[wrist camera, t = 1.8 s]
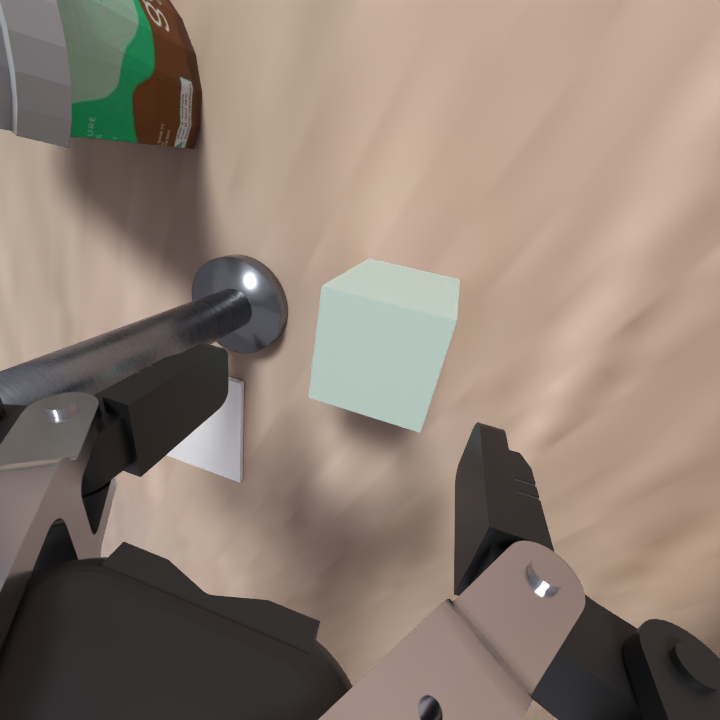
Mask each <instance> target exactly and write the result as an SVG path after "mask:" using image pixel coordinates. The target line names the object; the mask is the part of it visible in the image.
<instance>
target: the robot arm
mask: <svg viewBox="0 0 720 720" xmlns="http://www.w3.org/2000/svg"><path fill="white" fill-rule="evenodd" d="M228 389H229V388H228V353H227V351H226V350H225V349H223V348H220V347H216V346H213V345H209V344H206V343H199V344H197V345H196V346H194V347H192V348H190V349H188V350H186V351H185V352H183V353H179V354H175V355H172V356H168V357H165V358H163V359H161V360H159V361H157V362H155V363H153V364H151V366H150V367H149V366H148V367H146V368H144V369H142V370H140V371H139V373H134V374H132V375H131V376H129V377H127V378H125V379H123V380H121V381H119V382H117V383H115V384H114V385H112V386H110V387H108V388H106V389H104V390H102V391H100V392H98V393H97V394H95V395H91V394H88V393H83V392H67V393H60V394H55V395H51V396H48V397H45V398H42V399H40V400H38V401H36V402H34V403H32V404H31V405H29V406H23V405H10V404H3V402H2V400H1V397H0V720H522V719H523V717H524V716H525V714H526V712H527V710H528V708H529V707H530V705H531V702H532V700H534V701H536V702H537V703H538V704H539V705H541V706H542V707H543V708H544V709H546V710H547V711H548V712H549V713H551V714H552V715H553V716H554V717H556V718H557V719H558V720H720V659H719V658H718V657H717V656H716V655H715V654H714V653H713V652H712V651H711V650H710V649H709V648H708V647H707V646H706V645H705V644H703V643H702V642H701V641H700V640H698V639H697V638H696V637H694V636H693V635H692V634H690V633H689V632H687V631H686V630H684V629H682V628H680V627H679V626H677V625H674V624H672V623H670V622H667V621H664V620H658V619H650V620H648V621H646V622H644V623H643V624H642V625H641V626H640V627H639V628H638V629H637V628H635V627H634V626H632V625H631V624H629V623H627V622H626V621H624V620H623V619H621V618H619V617H618V616H616V615H615V614H613V613H612V612H610V611H608V610H607V609H605V608H604V607H602V606H600V605H599V604H597V603H596V602H594V601H593V600H591V599H590V598H589V597H588V596H586V595H585V593H584V590H583V587H582V584H581V582H580V580H579V579H578V577H577V575H576V574H575V572H574V571H573V570H572V568H571V567H570V566H569V565H568V564H567V563H566V562H565V561H564V560H563V559H562V558H561V557H560V556H559V555H557V554H556V553H555V552H554V549H553V546H552V542H551V538H550V535H549V531H548V527H547V524H546V520H545V517H544V513H543V509H542V506H541V502H540V500H539V495H538V491H537V488H536V487H535V480H534V477H533V473H532V469H531V468H530V466H529V465H528V463H527V462H526V461H525V459H524V458H523V457H522V455H521V454H520V453H518V452H514V451H511V450H509V448H508V443H507V438H506V433H505V431H504V430H502V429H499V428H495V427H492V426H488V425H485V424H481V423H476V424H475V426H474V428H473V430H472V433H471V435H470V438H469V440H468V443H467V445H466V447H465V450H464V452H463V455H462V457H461V460H460V462H459V465H458V469H457V473H456V479H455V553H454V594H455V595H458V597H457V598H456V599H455V600H454V601H451V600H450V599H447V600H445V601H444V602H442V603H441V604H440V605H439V606H438V607H436V608H435V609H434V610H433V611H432V612H431V613H430V614H429V615H428V616H427V617H426V618H425V619H424V620H423V621H422V622H421V623H420V624H418V625H417V626H416V627H415V628H414V629H413V630H412V631H411V632H410V633H409V634H408V635H407V636H406V637H405V638H404V639H403V640H402V641H401V642H399V643H398V644H397V645H396V646H395V647H394V648H393V649H392V650H391V651H390V652H389V653H388V654H387V655H386V656H385V657H384V658H383V659H382V660H380V661H379V662H378V663H377V664H376V665H375V666H374V667H373V668H372V669H371V670H370V671H369V672H368V673H367V674H366V675H365V676H364V677H363V678H362V679H360V680H359V681H358V682H357V683H356V684H355V685H354V686H352V685H351V683H350V681H349V679H348V677H347V675H346V674H345V672H344V671H343V669H342V668H341V666H340V665H339V663H338V662H337V661H336V660H335V658H334V657H333V656H332V655H331V654H330V653H329V652H328V651H327V649H326V648H325V647H323V646H322V645H321V644H320V643H319V642H318V641H317V640H316V637H317V633H318V628H319V623H320V621H318V620H315V619H313V618H310V617H308V616H305V615H303V614H300V613H298V612H296V611H293V610H291V609H288V608H286V607H283V606H281V605H278V604H276V603H273V602H271V601H268V600H259V599H248V598H237V597H226V596H215V595H209V594H207V593H205V592H204V591H202V590H201V589H200V588H199V587H198V586H197V585H196V584H195V583H194V582H192V581H191V580H190V579H189V578H188V577H187V576H186V575H185V574H184V573H182V572H181V571H180V570H179V569H178V568H177V567H176V566H175V565H174V564H172V563H171V562H170V561H169V560H167V559H165V558H163V557H160V556H158V555H155V554H153V553H150V552H148V551H145V550H143V549H140V548H138V547H135V546H133V545H131V544H128V543H126V542H123V543H122V544H121V545H120V546H119V547H118V548H117V549H116V550H115V551H114V552H113V553H112V554H111V555H110V556H109V557H108V558H107V557H102V558H101V547H102V542H103V538H104V534H105V530H106V526H107V521H108V517H109V513H110V509H111V505H112V501H113V497H114V493H115V489H116V484H117V483H116V478H115V476H117V475H118V474H119V473H120V472H122V471H126V472H128V473H131V474H134V475H137V476H139V477H141V476H142V475H144V474H145V473H146V472H147V471H148V470H149V469H150V468H152V467H153V466H154V465H155V464H156V463H157V462H159V461H160V460H161V459H162V458H163V457H164V456H165V455H167V454H168V453H169V452H170V451H171V450H172V449H174V448H175V447H176V446H177V445H178V444H179V443H180V442H182V441H183V440H184V439H185V438H186V437H187V436H189V435H190V434H191V433H192V432H193V431H194V430H195V429H197V428H198V427H199V426H200V425H201V424H202V423H204V422H205V421H206V420H207V419H208V418H209V417H211V416H212V415H213V414H214V413H215V412H216V411H217V410H219V409H220V408H221V407H222V405H223V404H224V402H225V401H226V398H227V395H228Z"/></svg>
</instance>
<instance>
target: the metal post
mask: <svg viewBox="0 0 720 720" xmlns="http://www.w3.org/2000/svg"><path fill="white" fill-rule="evenodd" d="M192 300H193V301H192V302H189V303H187V304H184V305H181V306H178V307H176V308H173V309H170V310H167V311H165V312H162V313H159V314H156V315H154V316H151V317H148V318H145V319H143V320H140V321H137V322H134V323H132V324H129V325H126V326H123V327H121V328H118V329H115V330H112V331H110V332H107V333H104V334H101V335H99V336H96V337H93V338H90V339H88V340H85V341H82V342H79V343H77V344H74V345H71V346H68V347H66V348H63V349H60V350H57V351H55V352H52V353H49V354H46V355H44V356H41V357H38V358H36V359H33V360H30V361H27V362H25V363H22V364H19V365H16V366H14V367H11V368H8V369H5V370H3V371H0V397H1V400H2V402H3V404H10V405H23V406H29V405H31V404H32V403H34V402H36V401H38V400H40V399H42V398H45V397H48V396H51V395H55V394H60V393H67V392H83V393H88V394H91V395H95V394H97V393H98V392H100V391H102V390H104V389H106V388H108V387H110V386H112V385H114V384H115V383H117V382H119V381H121V380H123V379H125V378H127V377H129V376H131V375H132V374H134V373H139V371H140V370H142V369H144V368H146V367H148V366H149V367H150V366H151V364H153V363H155V362H157V361H159V360H161V359H163V358H165V357H168V356H172V355H175V354H179V353H183V352H185V351H186V350H188V349H190V348H192V347H194V346H196V345H197V344H199V343H206V344H209V345H210V344H212V343H214V342H218V343H219V344H220V345H222V346H224V347H225V348H227V349H230V350H232V351H235V352H240V353H252V352H256V351H259V350H261V349H263V348H265V347H266V346H267V345H269V344H270V343H272V342H273V341H274V340H276V339H277V338H278V337H279V336H280V335H281V333H282V331H283V330H284V328H285V325H286V322H287V317H288V305H287V300H286V296H285V293H284V290H283V288H282V286H281V284H280V282H279V281H278V279H277V278H276V276H275V275H274V274H273V273H272V272H271V270H270V269H269V268H267V267H266V266H265V265H264V264H262V263H261V262H259V261H258V260H256V259H254V258H251V257H248V256H244V255H229V256H225V257H220V258H216V259H213V260H210V261H209V262H207V263H205V264H204V265H203V266H202V267H201V268H200V269H199V271H198V272H197V274H196V276H195V278H194V282H193V286H192Z"/></svg>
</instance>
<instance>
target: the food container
mask: <svg viewBox="0 0 720 720" xmlns="http://www.w3.org/2000/svg"><path fill="white" fill-rule="evenodd" d="M201 102H202V90H201V84H200V77H199V71H198V65H197V59H196V54H195V51H194V49H193V46H192V44H191V41H190V39H189V36H188V33H187V31H186V28H185V26H184V23H183V21H182V18H181V17H180V15H179V14H178V12H177V11H176V9H175V8H174V6H173V5H172V3H171V2H170V0H0V129H4V130H10V131H12V132H13V133H14V134H15V135H16V136H20V137H25V138H29V139H33V140H37V141H42V142H46V143H50V144H54V145H58V146H63V147H67V148H69V140H70V136H72V137H82V138H92V139H101V140H111V141H121V142H131V143H141V144H150V145H160V146H170V147H180V148H190V149H194V147H195V143H196V140H197V136H198V133H199V130H200V120H201Z"/></svg>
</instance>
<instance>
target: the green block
mask: <svg viewBox="0 0 720 720" xmlns="http://www.w3.org/2000/svg"><path fill="white" fill-rule="evenodd" d="M459 286H460V279H456V278H451V277H447V276H443V275H439V274H434V273H430V272H426V271H421V270H417V269H413V268H409V267H404V266H400V265H396V264H391V263H387V262H383V261H379V260H374V259H370V258H368V259H367V260H365V261H363V262H362V263H360V264H358V265H357V266H355V267H353V268H351V269H350V270H348V271H346V272H345V273H343V274H341V275H339V276H338V277H336V278H334V279H333V280H331V281H329V282H328V283H326V284H324V285H322V288H321V296H320V304H319V312H318V321H317V329H316V337H315V346H314V354H313V362H312V371H311V379H310V387H309V395H308V398H311V399H315V400H318V401H321V402H324V403H327V404H330V405H334V406H337V407H340V408H343V409H346V410H349V411H353V412H356V413H359V414H362V415H365V416H368V417H372V418H375V419H378V420H381V421H384V422H387V423H391V424H394V425H397V426H400V427H403V428H406V429H410V430H413V431H416V432H419V433H421V430H422V427H423V423H424V420H425V417H426V414H427V411H428V408H429V405H430V402H431V399H432V396H433V393H434V390H435V387H436V383H437V380H438V377H439V374H440V371H441V368H442V365H443V362H444V359H445V356H446V353H447V350H448V346H449V343H450V340H451V337H452V334H453V331H454V328H455V325H456V322H457V314H458V300H459Z"/></svg>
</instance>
